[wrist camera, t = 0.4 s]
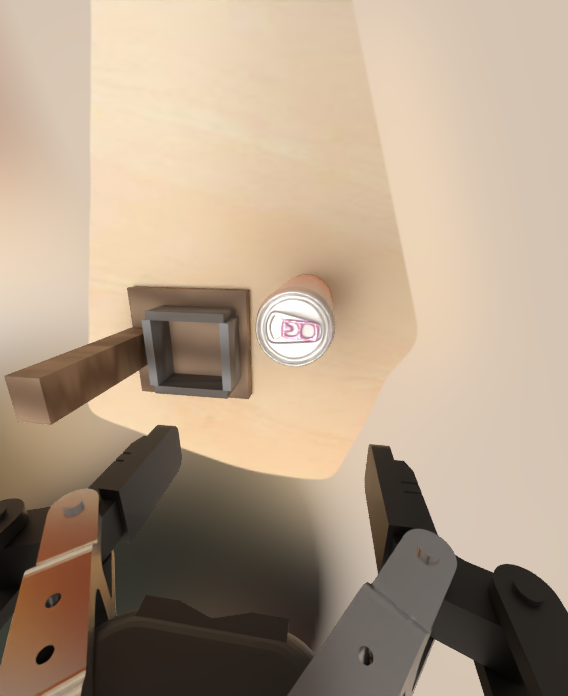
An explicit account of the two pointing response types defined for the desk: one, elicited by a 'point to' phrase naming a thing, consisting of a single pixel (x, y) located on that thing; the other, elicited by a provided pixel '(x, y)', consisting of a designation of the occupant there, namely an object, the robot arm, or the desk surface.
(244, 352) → the post holder
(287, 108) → the desk surface
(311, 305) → the beverage can
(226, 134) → the desk surface
